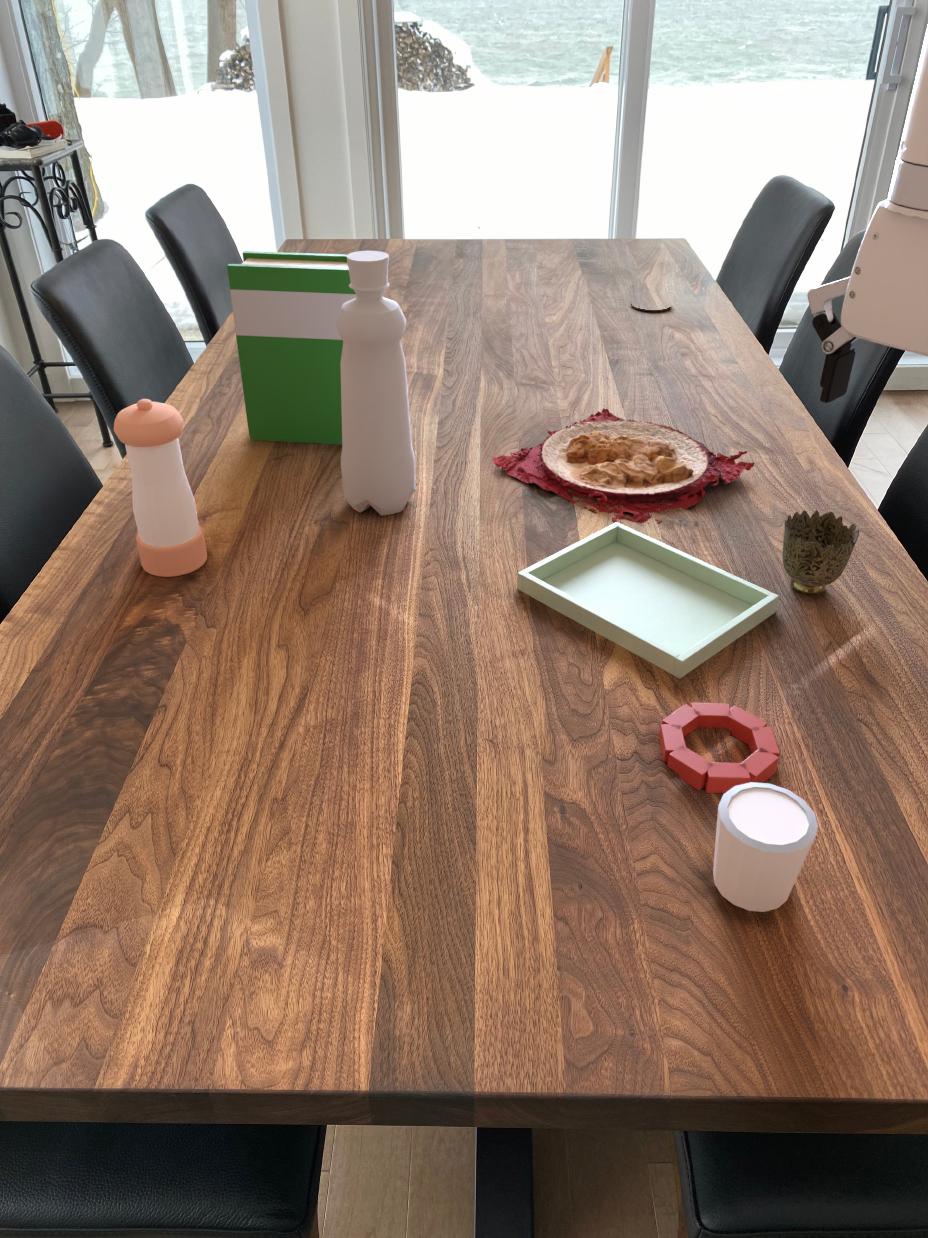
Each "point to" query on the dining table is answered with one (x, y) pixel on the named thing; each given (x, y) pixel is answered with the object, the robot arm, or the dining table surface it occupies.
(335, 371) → the hardback book
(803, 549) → the cup
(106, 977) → the dining table surface
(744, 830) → the white cylinder
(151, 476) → the pepper shaker
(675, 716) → the ring
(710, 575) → the tray
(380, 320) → the bottle
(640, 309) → the dark curved strip
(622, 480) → the plate with food
